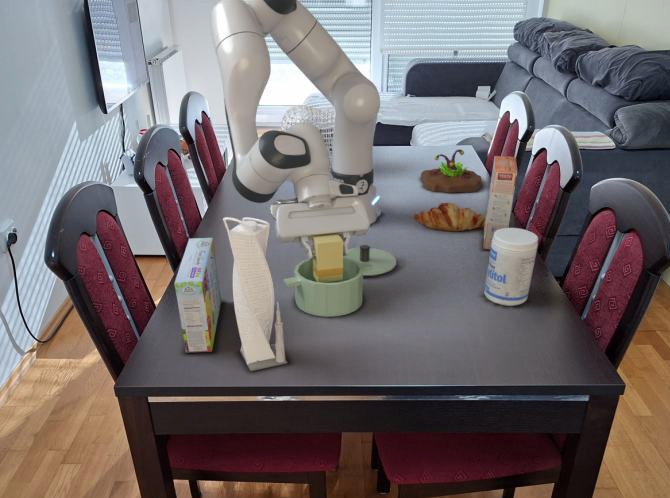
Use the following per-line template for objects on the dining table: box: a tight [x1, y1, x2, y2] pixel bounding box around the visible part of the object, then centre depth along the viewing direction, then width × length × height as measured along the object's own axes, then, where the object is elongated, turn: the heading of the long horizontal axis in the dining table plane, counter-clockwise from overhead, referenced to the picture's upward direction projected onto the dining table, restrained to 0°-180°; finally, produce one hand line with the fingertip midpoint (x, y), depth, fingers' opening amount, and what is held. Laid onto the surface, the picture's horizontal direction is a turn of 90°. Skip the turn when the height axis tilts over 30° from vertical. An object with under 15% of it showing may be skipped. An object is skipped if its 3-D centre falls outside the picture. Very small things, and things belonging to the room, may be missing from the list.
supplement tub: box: [483, 227, 539, 307], centre depth 141 cm, size 10×10×15 cm
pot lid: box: [343, 244, 397, 276], centre depth 158 cm, size 16×16×5 cm
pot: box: [283, 257, 372, 318], centre depth 140 cm, size 15×20×8 cm
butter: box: [312, 234, 344, 283], centre depth 137 cm, size 4×6×9 cm
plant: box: [420, 149, 483, 194], centre depth 212 cm, size 20×20×11 cm
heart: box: [280, 104, 336, 171], centre depth 218 cm, size 28×16×22 cm, turn 89°
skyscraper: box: [222, 216, 288, 372], centre depth 115 cm, size 8×8×28 cm
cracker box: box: [482, 155, 518, 251], centre depth 167 cm, size 14×6×21 cm, turn 168°
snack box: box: [173, 237, 222, 354], centre depth 128 cm, size 21×6×15 cm, turn 5°
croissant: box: [413, 202, 486, 232], centre depth 180 cm, size 21×10×8 cm
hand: (328, 256), depth 136 cm, fingers closed on butter, 5 cm apart
